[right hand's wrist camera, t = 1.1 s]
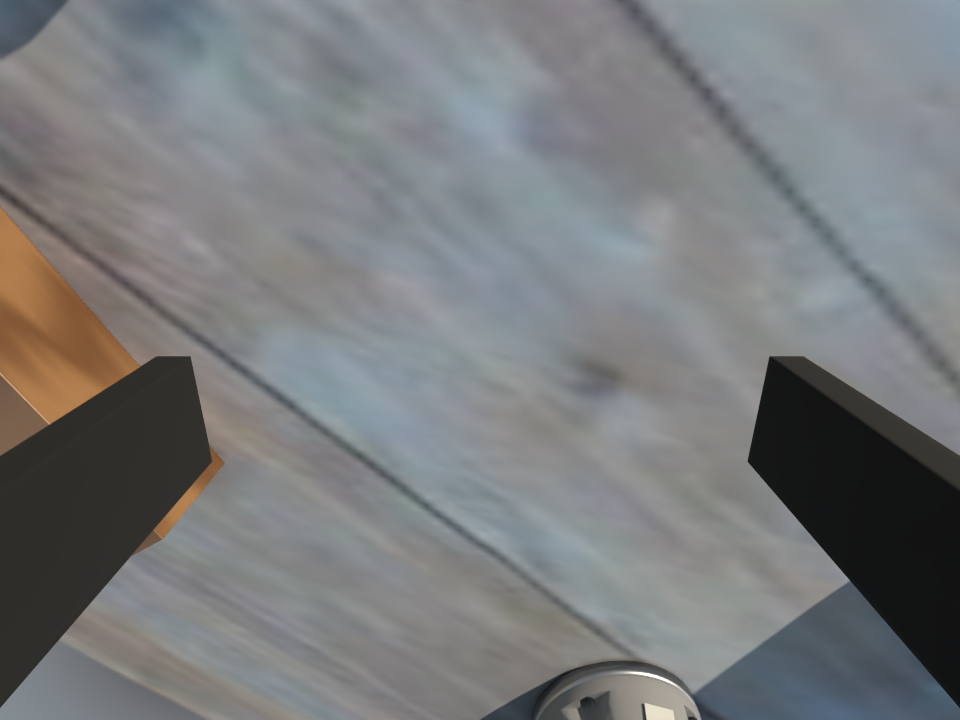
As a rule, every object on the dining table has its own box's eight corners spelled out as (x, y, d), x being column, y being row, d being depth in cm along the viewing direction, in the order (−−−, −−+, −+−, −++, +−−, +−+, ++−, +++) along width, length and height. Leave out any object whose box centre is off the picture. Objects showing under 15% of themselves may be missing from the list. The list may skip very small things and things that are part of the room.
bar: (224, 463, 40) (162, 539, 32) (166, 495, 41) (92, 577, 33) (-84, 110, 31) (-273, 96, 24) (-149, 162, 32) (-350, 166, 25)
